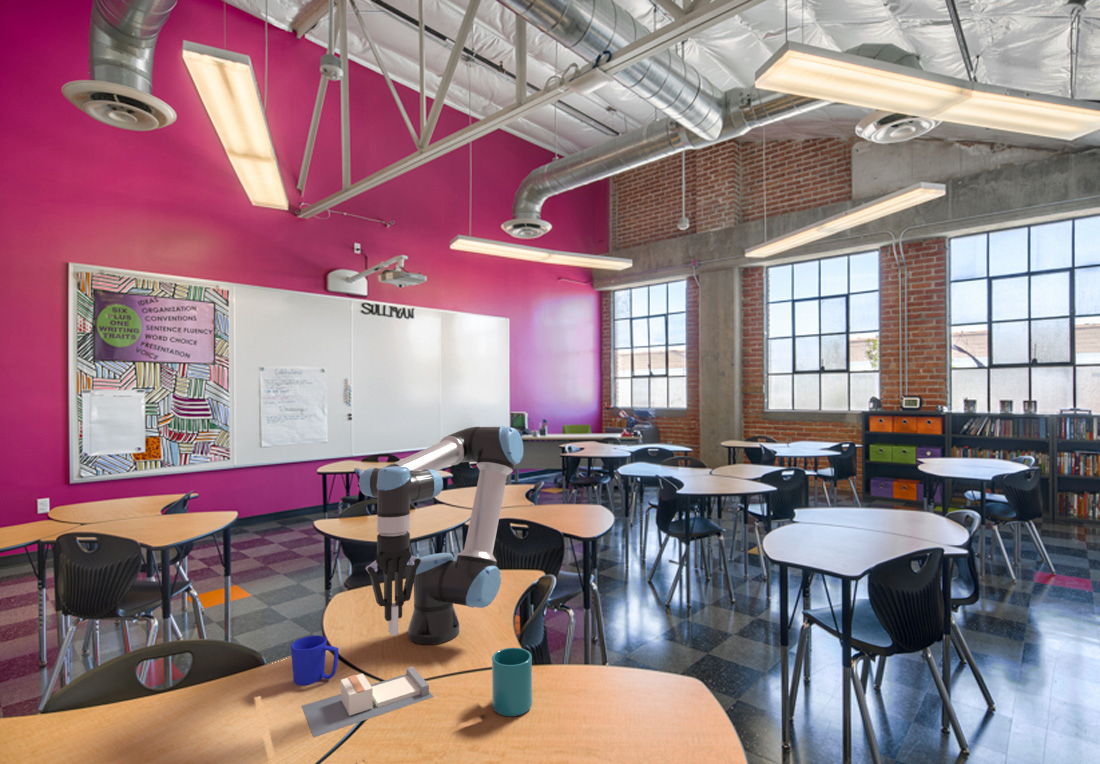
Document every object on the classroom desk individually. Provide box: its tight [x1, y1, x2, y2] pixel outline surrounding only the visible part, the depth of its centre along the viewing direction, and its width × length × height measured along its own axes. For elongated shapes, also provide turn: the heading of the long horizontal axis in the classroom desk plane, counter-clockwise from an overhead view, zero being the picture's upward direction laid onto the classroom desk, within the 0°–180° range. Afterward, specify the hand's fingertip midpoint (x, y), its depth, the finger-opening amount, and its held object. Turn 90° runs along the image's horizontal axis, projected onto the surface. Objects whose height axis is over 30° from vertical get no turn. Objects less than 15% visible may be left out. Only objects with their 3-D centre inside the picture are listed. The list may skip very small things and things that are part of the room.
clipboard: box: [301, 665, 434, 738], centre depth 123 cm, size 26×14×3 cm, turn 124°
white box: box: [340, 673, 373, 716], centre depth 122 cm, size 5×8×5 cm, turn 34°
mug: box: [290, 635, 340, 686], centre depth 134 cm, size 8×12×10 cm
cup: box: [491, 647, 533, 717], centre depth 124 cm, size 9×12×11 cm
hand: (393, 633), depth 127 cm, fingers closed
